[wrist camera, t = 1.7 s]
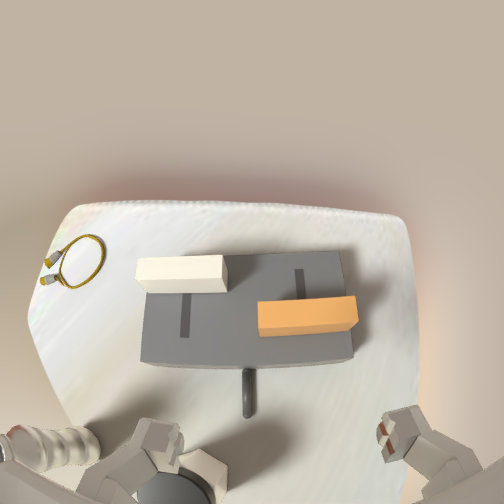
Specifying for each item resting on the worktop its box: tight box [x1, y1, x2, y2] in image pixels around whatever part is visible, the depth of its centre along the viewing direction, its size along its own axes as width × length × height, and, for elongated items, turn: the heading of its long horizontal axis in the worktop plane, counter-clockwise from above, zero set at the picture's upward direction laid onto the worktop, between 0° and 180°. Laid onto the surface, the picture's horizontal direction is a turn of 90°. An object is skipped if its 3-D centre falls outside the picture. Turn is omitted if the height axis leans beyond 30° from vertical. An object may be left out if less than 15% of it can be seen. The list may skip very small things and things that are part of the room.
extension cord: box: [40, 235, 104, 289], centre depth 45 cm, size 12×16×2 cm
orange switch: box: [258, 296, 359, 337], centre depth 31 cm, size 3×11×5 cm, turn 91°
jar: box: [137, 449, 228, 504], centre depth 23 cm, size 9×8×12 cm
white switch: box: [135, 255, 228, 293], centre depth 35 cm, size 3×11×5 cm, turn 91°
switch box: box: [140, 251, 354, 419], centre depth 36 cm, size 23×27×5 cm
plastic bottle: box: [0, 425, 101, 473], centre depth 21 cm, size 6×7×20 cm
